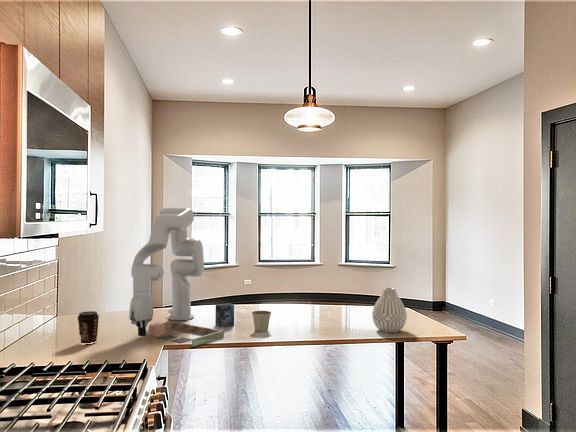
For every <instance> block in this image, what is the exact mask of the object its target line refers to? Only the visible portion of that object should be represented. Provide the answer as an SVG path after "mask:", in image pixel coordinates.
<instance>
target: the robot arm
mask: <svg viewBox="0 0 576 432" xmlns="http://www.w3.org/2000/svg"><path fill="white" fill-rule="evenodd" d="M194 218H195V213H194V211H193V209H192V208H189V207H165V208H162V209H161V210H160V211H159V214H158V215H157V216H156V217H154V221H153V223H152V229H151V233H150V235H149V239H148V242H147V243H146V244H145V245H143V246H142V248H140V250H139V251H138V252H137V253H136V254H135V255H134V259H133V262H132V265H131V266H132V267H131V273H130V275H131V277H132V298H131V300H130V305H129V315H128V317H129V319H128V320H130V321H131V323H130V324H131V325H135V326H136V327H137V336H139V337H145V336H147V334H146V333H147V331H146V329H147V327H148V324H149V323H150V322H152V320H153V317H154V302H153V297H152V296H151V295H152V293H153V291H152V282H157V281H160V280H161V279H162V278H163V276H164V273H165V271H164V268H163V267H162V266H161V265H159V264H151V263H145V261H146V260H147V259H148V258H149V257H151V256H152V255H154V254H156V253H158V252H161V251H162V250H165V249H166V247H167V246H168V241H169V238H170V243H171V244H170V245H171V252H172V255H173V256H175V257H176V258H174V259H172V261H171V262H170V274H171V283H172V284H171V285H172V287H171V289H172V291H171V293H172V295H171V297H172V298H171V301H172V302H171V303H172V304H171V308H170V309H168V310H167V313H168V314H170V315H169V317H168V318H169V320H171V321H188V320H189V321H190V320H192V319H194V318H195V316H194V314H192V313H191V308H192V306H191V300H192V299H191V297H192V293H191V290H192V285H191V281H190V280H189V278H191V277H192V278H193V277H201V276H203V274H204V273H205V262H204V261H205V259H204V247H203V243H202V241H201V239H199V238H195V237H194V238H193V237H189V236H188V230H187V228H188V227H189V226H190V225H191V224H193V222H194ZM178 257H179V258H178ZM188 277H189V278H188Z"/></svg>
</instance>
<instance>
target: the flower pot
mask: <svg viewBox="0 0 576 432" xmlns="http://www.w3.org/2000/svg"><path fill="white" fill-rule="evenodd" d="M251 314H252V317H253V325H254V331H255V332H259V333H261V332H262V333H265V332H268V331H269V325H270V318H271V315H272V311H269V310H254V311H251Z"/></svg>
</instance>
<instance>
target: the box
mask: <svg viewBox="0 0 576 432" xmlns="http://www.w3.org/2000/svg"><path fill="white" fill-rule="evenodd" d="M214 323H215V326H216V327H217V328H226V327H234V326H235V304H234V303H232V302H231V303H230V302H226V303H219V304H218V303H216V304H215V322H214Z"/></svg>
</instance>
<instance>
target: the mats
mask: <svg viewBox="0 0 576 432" xmlns="http://www.w3.org/2000/svg"><path fill="white" fill-rule="evenodd" d="M158 338H159V339H158ZM175 338H176V339H175ZM157 339H158V340H163V339H164V340H163V341H168V339H169V340H171V342H172V343H177V344H183V343H186V342H189V341H192V339H193V338H187V337H179V338H178V336H177V335H172V334H166V335H165V334H164V335H160V336H157Z"/></svg>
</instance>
